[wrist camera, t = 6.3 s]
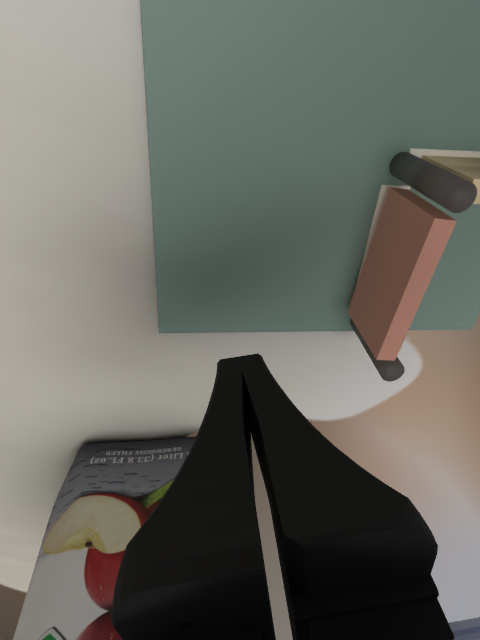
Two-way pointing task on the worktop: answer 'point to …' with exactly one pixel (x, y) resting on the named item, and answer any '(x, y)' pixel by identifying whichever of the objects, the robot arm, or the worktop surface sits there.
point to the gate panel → (398, 270)
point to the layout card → (301, 153)
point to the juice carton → (95, 536)
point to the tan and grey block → (443, 188)
